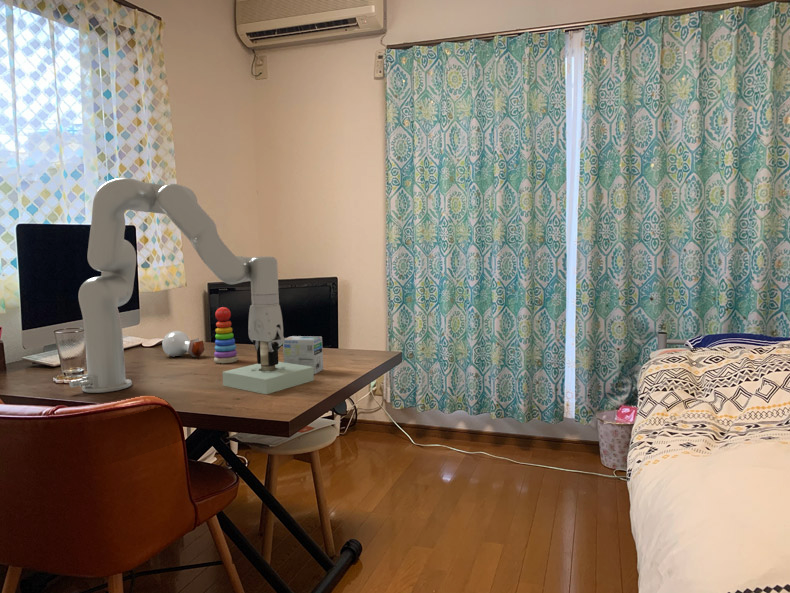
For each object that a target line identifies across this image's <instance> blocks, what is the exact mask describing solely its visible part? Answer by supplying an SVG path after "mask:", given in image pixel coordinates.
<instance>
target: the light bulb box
mask: <svg viewBox="0 0 790 593" xmlns="http://www.w3.org/2000/svg"><path fill="white" fill-rule="evenodd" d="M284 338H285V343H283V344H282V353H283V362H285V363H291V364H298V365H305V366H311V367H313V370H314V375H316V374H318V373H320V372H321V371H323V370H324V353H323V351H324V350H323V337H322V336H314V335H313V336H311V335H310V336H308V335H307V336H305V335H304V336H301V335H298V336H297V335H292V336H288V337H284Z"/></svg>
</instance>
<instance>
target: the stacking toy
mask: <svg viewBox="0 0 790 593" xmlns="http://www.w3.org/2000/svg"><path fill="white" fill-rule="evenodd" d="M214 313H215V314H214V315H215V319H216V320H217V322H216V323H215V327H217V328H215V330H214V331H215V333H216V334H215V336H214V337H215V340H214V344H215V346H214V350H215V351H214V353H213V356H214V358H213V362H214V363H215V364H220V363H221V364H220V365H222V364H224V365H226V364H232V363H236V362H237V361H238V360H239V356H238V355H237V354H238V351H237V350H236V349H237V345H236V344H235V343H236V340H235V338H234V333H233V327H231V326H232V322H231V320H230V318H231V316H232V313H231V311H230V309H229V308H228V307H224V306H222V307H218V308H217V309H216V311H215V312H214ZM225 363H226V364H225Z"/></svg>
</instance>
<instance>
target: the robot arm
mask: <svg viewBox="0 0 790 593" xmlns="http://www.w3.org/2000/svg"><path fill="white" fill-rule="evenodd" d="M91 210H92V211H91V212H92V213H91V221H90V222H91V224H90V230H89V237H88V246H87V247H88V248H87V257H86V258H87V262H88V264H89V266H90V267H91V268H92V269H93V270H94V271H97V272H101V273H100V274H101V275H100V276H99V275H98V276H94V277H91V278H88V279H86V280H85V281H84V282H83V283H82V284H81V285H80V287H79V290H78V302H79V303H78V304H79V308H80V311H81V315H82V321H83V322H82V323H83V331H84V332H83V334H84V342H85V343H84V344H85V355H86V356H85V357H86V358H85V359H86V373H84V374H83V376H82V377H81V378H79V379H78V378H77V379H72V380H69V382H68V384H69V387H70V388H75V387H79V388H80V387H81V389H82V391H83V392H84V393H89V394H90V393H92V394H94V393H95V394H96V393H97V394H98V393H99V394H100V393H109V392H110V393H111V392H115V391H121V390H124V389H127V388H129V387H131V386H132V385H133V383H132V380H131V379H130V378H129V379H128V378H127V377H126V368H125V367H126V366H125V365H126V364H125V353H124V349H125V348H124V340H123V339H124V337H123V336H124V335H123V325H122V318H121V315H120V311H119V309H118V307H121V306H124V305H125V304H127V303H128V302H129V301H130V299H131V298H132V295H133V291H134V284H135V283H134V282H135V276H136V267H137V253H136V250H135V247H134V245H132V243H131V242H130V241H129V240H126V239H125V230H126V219H125V212H126V211H135V212H142V213H143V212H144V213H154V214H162V215H166V217H167V218H168V219H170V221H171V222H172V223H173V224H174V225H175V226H176V227H177V228H178V229H179V231H181V233H182V234H183V235H184V236H185V237H186V239H187V240H188V241H189V242H190V243H191V246H192V247H193V249H194V250H195V252H196V253H197V254H198V256H199V258H200V259H201V260H202V262H203V263H204V264H205V265H206V266H207V267H208V269H209V270H210V271H211V272H212V273H213V274H214V275H215V276H216V277H217V278H218V280H220V281H221V282H223V283H224V284H227V285H237V284H242V283H246V282H250V294H251V297H250V298H251V305H250V306H249V312H248V325H247V326H248V328H247V329H248V338H249V340H250V341H251V342H252V344H253V345H254V348H255V350H256V362H257V363H256V364H261V354H260V341H266V342H268V344H269V350H270V352H268V363H269V366H273V365H277V364H278V362H279V351H280V348H281V347H282V346H283V343H285V338H286V337H284V322H283V314H282V309H281V305H280V299H279V292H280V291H279V273H278V272H279V270H278V268H279V265H278V260H277V258H276V257H274V256H254V257H251V256H250V257H249V256H241V255H240V256H239V255H235V253H233V252H232V251H231V250H230V249H229V247H228V246H227V245H226V244H225V243H224V241H223V240H222V239H221V237H220V236H219V233H218V230H217V224H216V223H215V221H214V219H212V217H210V216H209V214H208V213H207V212H206V211H205V210H204V208H203V207H202V206H200V204H199V203H198V198H197V195H196V193H195V192H194V191H193V190H192V189H190V188H189V187H188V186H184V185H182V184H178V183H168V184H159V183H151V182H145V181H141V180H138V179H134V178H130V177H129V178H128V177H119V178H114V179H111V180H109V181H106V182H104V183H103V184H102V185H101V186H100V187H99V188H98V189H97V191H96V192H95V195H94V198H93V201H92V209H91ZM273 339H274V340H273ZM273 342H274V345H273Z"/></svg>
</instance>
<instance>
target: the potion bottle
mask: <svg viewBox="0 0 790 593" xmlns="http://www.w3.org/2000/svg"><path fill="white" fill-rule="evenodd" d="M161 345H162V350H163V351H164V353H165V354H166V355H168V356H170V357H172V358H176V357H175V356H181V357H182V356H184V355H185V354H187V353H188V354H189V355H190V356H192V358H195V357H197V358H198V357H199V358H200V356H201V355H202V354H203V353H204V351H205V350H206V349H205V344H204V340H200V338H195V339H191V340H190V338H189V336H188V334H187V333H186V332H183V331H181V330H171V331H169V333H166V334H165V336H164V337H163V339H162V344H161Z"/></svg>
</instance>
